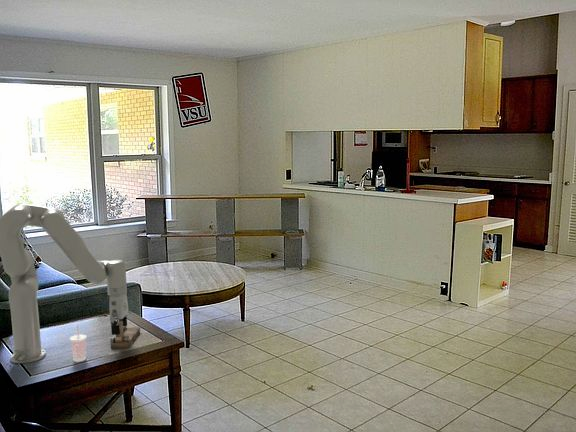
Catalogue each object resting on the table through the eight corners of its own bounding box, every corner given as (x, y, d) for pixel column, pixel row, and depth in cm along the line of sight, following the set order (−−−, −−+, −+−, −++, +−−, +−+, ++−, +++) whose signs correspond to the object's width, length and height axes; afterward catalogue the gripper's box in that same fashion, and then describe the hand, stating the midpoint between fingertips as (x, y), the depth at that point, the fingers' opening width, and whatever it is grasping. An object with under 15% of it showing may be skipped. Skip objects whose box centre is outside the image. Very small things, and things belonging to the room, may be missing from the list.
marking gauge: (127, 341, 219) (126, 323, 218) (115, 342, 219) (114, 323, 218) (130, 338, 223) (129, 320, 222) (118, 338, 223) (117, 320, 222)
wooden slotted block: (127, 347, 218) (127, 338, 218) (110, 348, 218) (110, 338, 218) (139, 332, 236) (139, 323, 236) (124, 332, 236) (123, 323, 236)
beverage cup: (67, 360, 206) (65, 325, 204) (81, 354, 212) (78, 321, 210) (78, 363, 203) (75, 328, 201) (91, 358, 209) (89, 323, 206)
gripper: (119, 296, 209) (122, 337, 212) (132, 284, 226) (134, 322, 229) (100, 296, 209) (103, 338, 212) (114, 284, 226) (117, 323, 229)
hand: (119, 330), depth 220 cm, fingers open, 9 cm apart
